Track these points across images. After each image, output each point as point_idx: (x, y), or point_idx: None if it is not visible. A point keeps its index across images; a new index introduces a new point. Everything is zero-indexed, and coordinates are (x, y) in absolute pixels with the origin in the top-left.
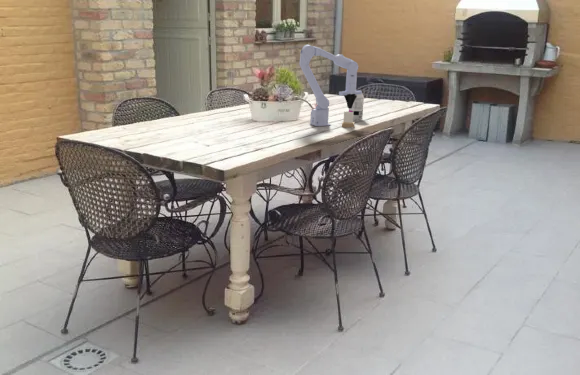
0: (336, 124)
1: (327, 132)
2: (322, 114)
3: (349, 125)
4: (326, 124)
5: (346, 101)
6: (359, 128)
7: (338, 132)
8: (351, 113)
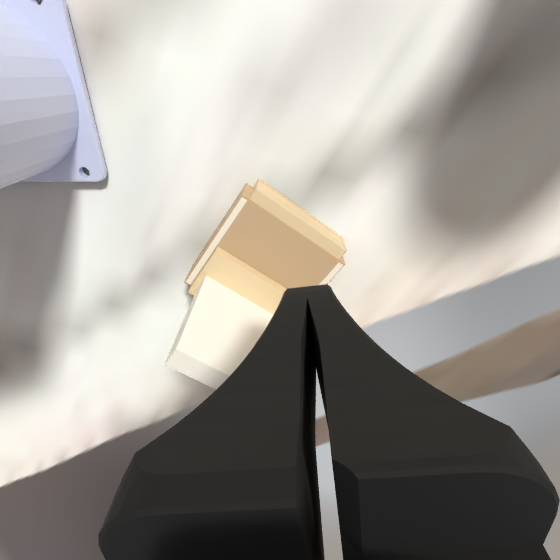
0: (195, 124)
1: (14, 390)
2: None
3: None
4: (48, 169)
5: (245, 363)
6: None
7: (93, 406)
8: None
